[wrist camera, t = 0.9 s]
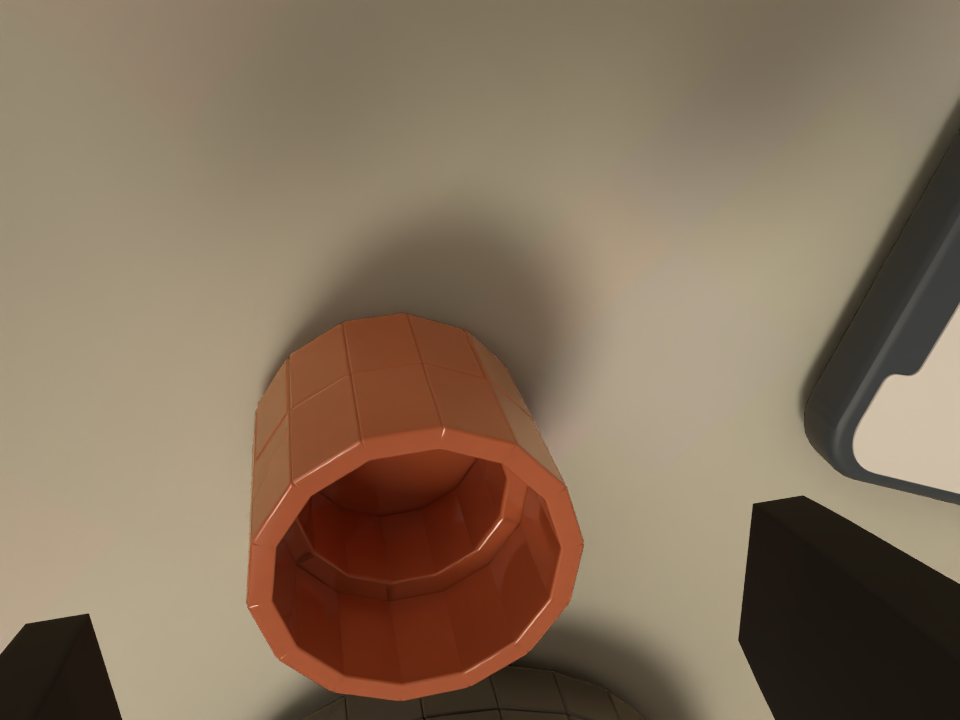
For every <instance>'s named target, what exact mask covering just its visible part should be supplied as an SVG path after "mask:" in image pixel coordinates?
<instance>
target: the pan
mask: <svg viewBox="0 0 960 720" xmlns="http://www.w3.org/2000/svg"><path fill="white" fill-rule="evenodd" d="M301 720H646V718H645V717H643V716H642V715H641V714H639V713H638V712H637V711H635V710H634V709H632V708H631V707H630V706H628V705H627V704H626V703H624V702H623V701H622V700H620V699H619V698H617V697H616V696H615V695H613V694H612V693H611V692H609V691H606V690H605V689H604V688H601V687H598V686H595V685H593V684H590V683H587V682H584V681H581V680H578V679H575V678H572V677H569V676H566V675H564V674H561V673H558V672H555V671H553V672H552V671H551V670H544V669H533V668H522V667H511V666H506V667H504V668H502V669H500V670H499V671H497V672H495V673H494V674H492V675H490V676H488V677H487V678H485V679H483V680H482V681H480V682H478V683H476V684H475V685H473V686H469V687H468V688H464V689H460V690H455V691H450V692H445V693H440V694H435V695H430V696H425V697H421V698H416V699H411V700H406V701H401V700H400V701H392V700H385V699H378V698H370V697H363V696H356V695H349V694H347V695H346V697H341V698H339V699H337V700H336V701H334V702H332V703H330V704H328V705H326V706H325V707H323V708H321V709H319V710H317V711H315V712H314V713H312V714H310V715H308V716H306V717H305V718H303V719H301Z"/></svg>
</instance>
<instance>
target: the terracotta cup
mask: <svg viewBox="0 0 960 720" xmlns="http://www.w3.org/2000/svg"><path fill="white" fill-rule="evenodd" d="M583 543H584V540H583V537H582V534H581V530H580V527H579V524H578V521H577V517H576V514H575V511H574V508H573V505H572V501H571V498H570V495H569V492H568V489H567V487H566V485H565V483H564V481H563V479H562V477H561V475H560V473H559V471H558V469H557V467H556V465H555V463H554V461H553V459H552V457H551V455H550V453H549V451H548V449H547V447H546V445H545V443H544V441H543V439H542V437H541V435H540V433H539V431H538V429H537V427H536V425H535V423H534V421H533V419H532V417H531V415H530V413H529V411H528V409H527V407H526V405H525V403H524V401H523V399H522V397H521V395H520V393H519V391H518V389H517V387H516V385H515V383H514V381H513V379H512V377H511V375H510V373H509V371H508V370H507V368H506V366H505V365H504V364H503V363H502V362H501V361H500V360H499V359H498V358H497V357H495V356H494V355H493V354H492V353H491V352H490V351H489V350H488V349H487V348H486V347H485V346H484V345H482V344H481V343H480V342H479V341H478V340H477V339H476V338H475V337H474V336H473V335H472V334H470V333H469V332H468V331H464V330H462V329H460V328H456V327H453V326H449V325H446V324H442V323H439V322H435V321H432V320H428V319H425V318H421V317H418V316H414V315H408V316H407V314H406V313H400V314H393V315H386V316H379V317H372V318H365V319H358V320H351V321H344V322H343V324H339V325H337V326H335V327H334V328H332V329H331V330H329V331H327V332H326V333H324V334H322V335H321V336H319V337H318V338H316V339H314V340H313V341H311V342H310V343H308V344H306V345H305V346H303V347H302V348H300V349H298V350H297V351H295V352H293V353H292V354H290V356H289V358H288V359H287V360H285V361H284V363H283V364H282V366H281V368H280V369H279V371H278V372H277V374H276V376H275V377H274V379H273V380H272V382H271V383H270V385H269V387H268V388H267V390H266V391H265V393H264V394H263V396H262V398H261V399H260V401H259V402H258V406H257V409H256V411H255V421H254V438H253V456H252V479H251V503H250V526H249V550H248V574H247V598H246V603H247V608H248V609H249V611H250V613H251V615H252V616H253V618H254V620H255V622H256V623H257V625H258V627H259V629H260V630H261V632H262V634H263V635H264V637H265V639H266V641H267V642H268V644H269V646H270V648H271V649H272V651H273V653H274V655H275V656H276V658H278V659H279V661H281V662H283V663H284V664H286V665H288V666H289V667H291V668H293V669H294V670H296V671H298V672H299V673H301V674H303V675H304V676H306V677H308V678H309V679H311V680H313V681H314V682H316V683H318V684H319V685H321V686H323V687H324V688H326V689H328V690H329V691H333V692H335V693H341V694H349V695H356V696H363V697H370V698H378V699H385V700H392V701H400V700H401V701H406V700H411V699H416V698H421V697H425V696H430V695H435V694H440V693H445V692H450V691H455V690H460V689H464V688H468V687H469V686H473V685H475V684H476V683H478V682H480V681H482V680H483V679H485V678H487V677H488V676H490V675H492V674H494V673H495V672H497V671H499V670H500V669H502V668H504V667H506V666H507V665H509V664H511V663H512V662H514V661H516V660H518V659H519V658H521V657H523V656H524V655H526V654H527V653H528V652H530V651H531V650H532V649H533V647H534V646H535V645H536V644H537V643H538V641H539V640H540V639H541V638H542V636H543V635H544V634H545V633H546V631H547V630H548V629H549V628H550V627H551V625H552V624H553V623H554V622H555V620H556V619H557V618H558V617H559V616H560V614H561V613H562V612H563V611H564V609H565V608H566V607H567V606H568V604H569V602H570V600H571V596H572V592H573V588H574V584H575V580H576V576H577V572H578V568H579V563H580V559H581V555H582V551H583V547H584V544H583Z"/></svg>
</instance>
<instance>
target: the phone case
mask: <svg viewBox="0 0 960 720" xmlns="http://www.w3.org/2000/svg"><path fill="white" fill-rule="evenodd" d="M804 428H805V433H806V436H807V438H808V440H809V442H810V444H811V445H812V446H813V448H814V449H815V450H816V451H817V452H818V453H819V454H820V455H821V456H822V457H823V458H824V459H825V460H826V461H827V462H828V463H829V464H830V465H831V466H832V467H833V468H834V469H835V470H837V471H838V472H839V473H841V474H842V475H844V476H846V477H849V478H851V479H854V480H858V481H863V482H867V483H871V484H875V485H879V486H884V487H888V488H892V489H896V490H900V491H905V492H909V493H913V494H917V495H922V496H926V497H930V498H934V499H937V500H941V501H945V502H949V503H954V504H958V505H960V129H959V131H958V133H957V135H956V136H955V138H954V140H953V142H952V144H951V145H950V147H949V149H948V151H947V152H946V154H945V156H944V158H943V160H942V161H941V163H940V165H939V167H938V169H937V170H936V172H935V174H934V176H933V177H932V179H931V181H930V183H929V185H928V186H927V188H926V190H925V192H924V194H923V195H922V197H921V199H920V201H919V202H918V204H917V206H916V208H915V210H914V211H913V213H912V215H911V217H910V218H909V220H908V222H907V224H906V226H905V227H904V229H903V231H902V233H901V235H900V236H899V238H898V240H897V242H896V243H895V245H894V247H893V249H892V251H891V252H890V254H889V256H888V258H887V260H886V261H885V263H884V265H883V267H882V268H881V270H880V272H879V274H878V276H877V277H876V279H875V281H874V283H873V285H872V286H871V288H870V290H869V292H868V293H867V295H866V297H865V299H864V301H863V302H862V304H861V306H860V308H859V309H858V311H857V313H856V315H855V317H854V318H853V320H852V322H851V324H850V326H849V327H848V329H847V331H846V333H845V334H844V336H843V338H842V340H841V342H840V343H839V345H838V347H837V349H836V351H835V352H834V354H833V356H832V358H831V359H830V361H829V363H828V365H827V367H826V368H825V370H824V372H823V374H822V375H821V377H820V379H819V381H818V383H817V384H816V386H815V388H814V390H813V392H812V393H811V396H810V398H809V400H808V402H807V406H806V410H805V414H804Z"/></svg>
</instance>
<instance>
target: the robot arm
mask: <svg viewBox="0 0 960 720" xmlns="http://www.w3.org/2000/svg"><path fill="white" fill-rule="evenodd" d="M738 641H739V643H740V645H741V647H742V650H743V652H744V654H745V656H746V658H747V661H748V663H749V665H750V667H751V670H752V672H753V674H754V676H755V679H756V681H757V683H758V685H759V687H760V689H761V691H762V693H763V696H764V698H765V700H766V702H767V704H768V706H769V708H770V710H771V712H772V714H773V716H774V718H775V720H960V584H959V583H957V582H955V581H953V580H951V579H950V578H948V577H946V576H944V575H943V574H941V573H939V572H937V571H936V570H934V569H932V568H930V567H929V566H927V565H925V564H924V563H922V562H920V561H918V560H917V559H915V558H913V557H911V556H910V555H908V554H906V553H905V552H903V551H901V550H899V549H898V548H896V547H894V546H892V545H891V544H889V543H887V542H886V541H884V540H882V539H880V538H879V537H877V536H875V535H874V534H872V533H870V532H868V531H867V530H865V529H863V528H861V527H860V526H858V525H856V524H854V523H853V522H851V521H849V520H848V519H846V518H844V517H842V516H840V515H839V514H837V513H835V512H833V511H831V510H830V509H828V508H826V507H824V506H822V505H820V504H819V503H817V502H815V501H813V500H811V499H809V498H807V497H805V496H797V497H791V498H785V499H779V500H773V501H767V502H761V503H755V504H753V509H752V518H751V528H750V537H749V546H748V556H747V565H746V574H745V583H744V593H743V602H742V611H741V620H740V630H739V639H738ZM0 720H122V718H121V714H120V711H119V708H118V705H117V702H116V699H115V695H114V692H113V689H112V686H111V683H110V679H109V676H108V673H107V670H106V667H105V663H104V660H103V657H102V654H101V651H100V648H99V644H98V641H97V638H96V635H95V632H94V628H93V625H92V622H91V619H90V616H89V614H83V615H77V616H71V617H65V618H59V619H53V620H47V621H40V622H34V623H28V624H25V625H24V627H23V628H22V629H21V630H20V631H19V633H18V634H17V635H16V636H15V637H14V639H13V640H12V641H11V642H10V643H9V645H8V646H7V647H6V648H5V650H4V651H3V652H2V653H1V654H0Z"/></svg>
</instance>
